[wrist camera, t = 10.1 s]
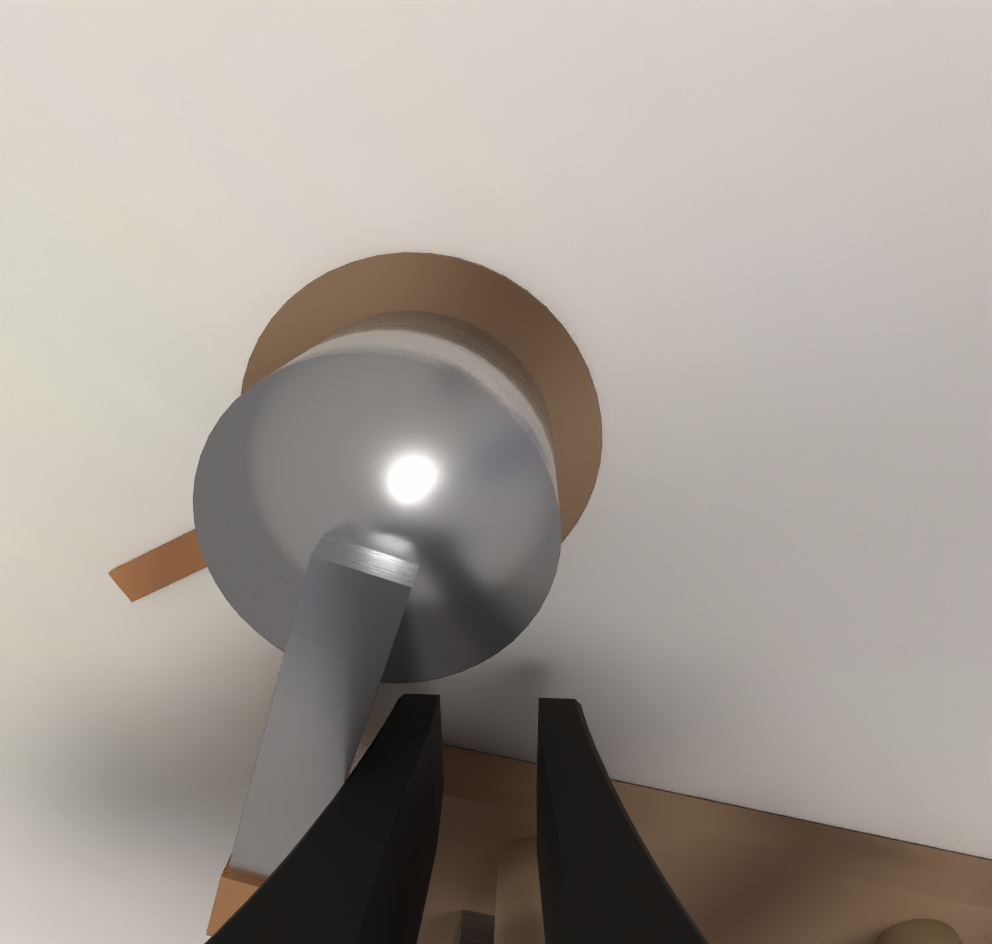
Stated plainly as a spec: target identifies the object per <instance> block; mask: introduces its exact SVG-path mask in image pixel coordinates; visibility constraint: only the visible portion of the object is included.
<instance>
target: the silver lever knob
mask: <svg viewBox="0 0 992 944" xmlns="http://www.w3.org/2000/svg"><path fill="white" fill-rule="evenodd" d="M193 510H194V523H195V528H196V533H197V538H198V542H199V545H200V548H201V551H202V554H203V557H204V560H205V563H206V565H207V567H208V569H209V571H210V573H211V575H212V577H213V579H214V581H215V583H216V584H217V586H218V587H219V589H220V590H221V592H222V593H223V595H224V596H225V598H226V599H227V601H228V602H229V603H230V604H231V606H232V607H233V608H234V609H235V610H236V612H237V613H238V614H239V615H240V616H241V617H242V618H243V619H244V620H245V621H246V622H247V623H248V624H249V625H250V626H251V627H252V628H253V629H254V630H255V631H256V632H257V633H259V634H260V635H261V636H263V637H264V638H265V639H266V640H268V641H269V642H270V643H272V644H273V645H274V646H276V647H277V648H279V649H281V650H282V651H284V652H285V654H284V658H283V661H282V665H281V669H280V673H279V677H278V680H277V684H276V688H275V692H274V696H273V700H272V703H271V707H270V711H269V715H268V719H267V722H266V726H265V730H264V734H263V738H262V741H261V745H260V749H259V753H258V757H257V760H256V764H255V768H254V772H253V776H252V779H251V783H250V787H249V791H248V795H247V798H246V802H245V806H244V810H243V814H242V817H241V821H240V825H239V829H238V833H237V837H236V840H235V844H234V848H233V852H232V854H231V856H230V858H229V861H228V863H227V865H226V867H225V869H224V871H223V873H222V876H221V879H220V883H219V886H218V890H217V894H216V898H215V902H214V906H213V910H212V913H211V917H210V921H209V925H208V929H207V933H206V935H209V936H213V935H214V934H215V933H216V932H217V931H218V930H219V929H220V928H221V927H222V926H223V924H224V923H225V922H226V921H227V920H228V919H229V918H230V917H231V916H232V915H233V914H234V913H235V912H236V911H237V910H238V909H239V908H240V907H241V906H242V905H243V904H244V903H245V902H246V901H247V900H248V899H249V898H250V897H251V896H252V895H253V893H254V892H255V891H256V890H257V889H258V888H259V887H260V886H261V885H262V884H263V883H264V881H265V880H266V879H267V878H268V877H269V876H270V875H271V874H272V873H273V871H274V870H275V869H276V868H277V867H278V866H279V865H280V864H281V862H282V861H283V860H284V859H285V858H286V857H287V855H288V854H289V853H290V852H291V851H292V849H293V848H294V847H295V846H296V845H297V844H298V842H299V841H300V840H301V839H302V837H303V836H304V835H305V834H306V832H307V831H308V830H309V828H310V827H311V826H312V825H313V823H314V822H315V821H316V820H317V818H318V817H319V816H320V815H321V813H322V812H323V811H324V810H325V808H326V807H327V806H328V804H329V803H330V802H331V801H332V799H333V798H334V797H335V795H336V794H337V793H338V791H339V790H340V788H341V787H342V786H343V784H344V783H345V782H346V780H347V778H348V776H349V773H350V770H351V767H352V764H353V761H354V758H355V754H356V751H357V748H358V745H359V742H360V739H361V736H362V733H363V730H364V727H365V724H366V721H367V718H368V715H369V712H370V709H371V706H372V703H373V701H374V698H375V695H376V692H377V689H378V686H379V683H411V682H422V681H427V680H433V679H439V678H443V677H446V676H449V675H453V674H456V673H459V672H462V671H464V670H466V669H469V668H471V667H473V666H476V665H478V664H480V663H482V662H483V661H485V660H487V659H488V658H490V657H492V656H494V655H495V654H497V653H498V652H500V651H501V650H502V649H503V648H505V647H506V646H507V645H509V644H510V643H511V642H512V641H514V639H515V638H516V637H517V636H518V635H519V634H520V633H521V632H522V631H523V630H524V629H525V628H526V627H527V626H528V625H529V623H530V622H531V621H532V619H533V618H534V617H535V615H536V614H537V613H538V611H539V610H540V608H541V606H542V604H543V602H544V601H545V599H546V597H547V595H548V593H549V591H550V588H551V585H552V582H553V580H554V577H555V574H556V571H557V565H558V560H559V555H560V546H561V522H560V511H559V500H558V490H557V479H556V468H555V457H554V447H553V436H552V426H551V422H550V418H549V414H548V410H547V407H546V404H545V402H544V399H543V397H542V394H541V392H540V390H539V388H538V387H537V385H536V383H535V381H534V379H533V378H532V376H531V375H530V373H529V372H528V371H527V369H526V368H525V367H524V365H523V364H522V363H521V361H520V360H519V359H518V358H517V357H516V356H515V355H514V354H513V353H512V352H511V351H510V350H509V349H508V348H507V347H505V346H504V345H503V344H502V343H500V342H499V341H498V340H497V339H495V338H494V337H493V336H491V335H489V334H488V333H486V332H484V331H483V330H481V329H479V328H478V327H476V326H474V325H471V324H469V323H467V322H464V321H462V320H460V319H457V318H453V317H450V316H446V315H443V314H439V313H432V312H425V311H395V312H387V313H381V314H377V315H373V316H370V317H366V318H363V319H361V320H358V321H356V322H354V323H351V324H349V325H347V326H345V327H344V328H342V329H341V330H339V331H337V332H336V333H334V334H332V335H331V336H329V337H328V338H326V339H324V340H323V341H321V342H320V343H318V344H317V345H315V346H313V347H312V348H310V349H309V350H307V351H306V352H304V353H302V354H301V355H299V356H298V357H296V358H295V359H293V360H292V361H290V362H288V363H287V364H285V365H284V366H282V367H281V368H279V369H277V370H276V371H274V372H273V373H271V374H270V375H268V376H266V377H265V378H263V379H262V380H260V381H259V382H257V383H255V384H254V385H253V386H251V387H250V388H249V389H248V390H247V391H246V392H244V393H243V394H242V395H241V396H240V397H238V398H237V399H236V400H235V401H234V402H233V403H232V405H231V406H230V407H229V408H228V409H227V410H226V411H225V413H224V414H223V415H222V416H221V417H220V419H219V421H218V422H217V424H216V425H215V427H214V428H213V430H212V432H211V433H210V435H209V437H208V439H207V441H206V444H205V446H204V449H203V451H202V453H201V456H200V459H199V463H198V467H197V471H196V475H195V482H194V492H193Z"/></svg>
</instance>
